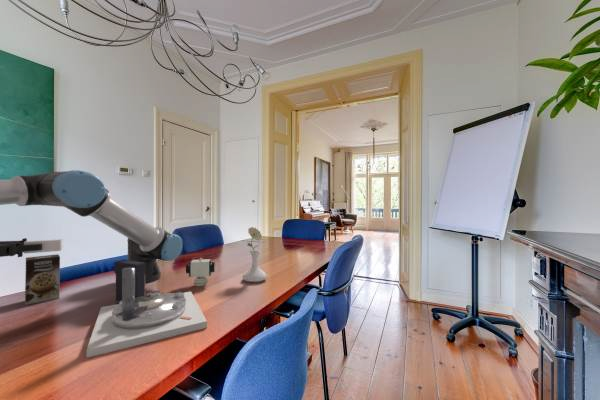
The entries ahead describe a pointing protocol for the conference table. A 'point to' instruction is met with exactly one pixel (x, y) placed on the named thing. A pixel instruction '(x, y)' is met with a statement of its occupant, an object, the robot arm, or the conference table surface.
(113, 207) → the robot arm
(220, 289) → the conference table surface
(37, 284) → the brown food box
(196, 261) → the pneumatic valve
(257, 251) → the flower in vase
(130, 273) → the round disc with peg
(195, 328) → the base plate
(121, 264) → the black upright block
